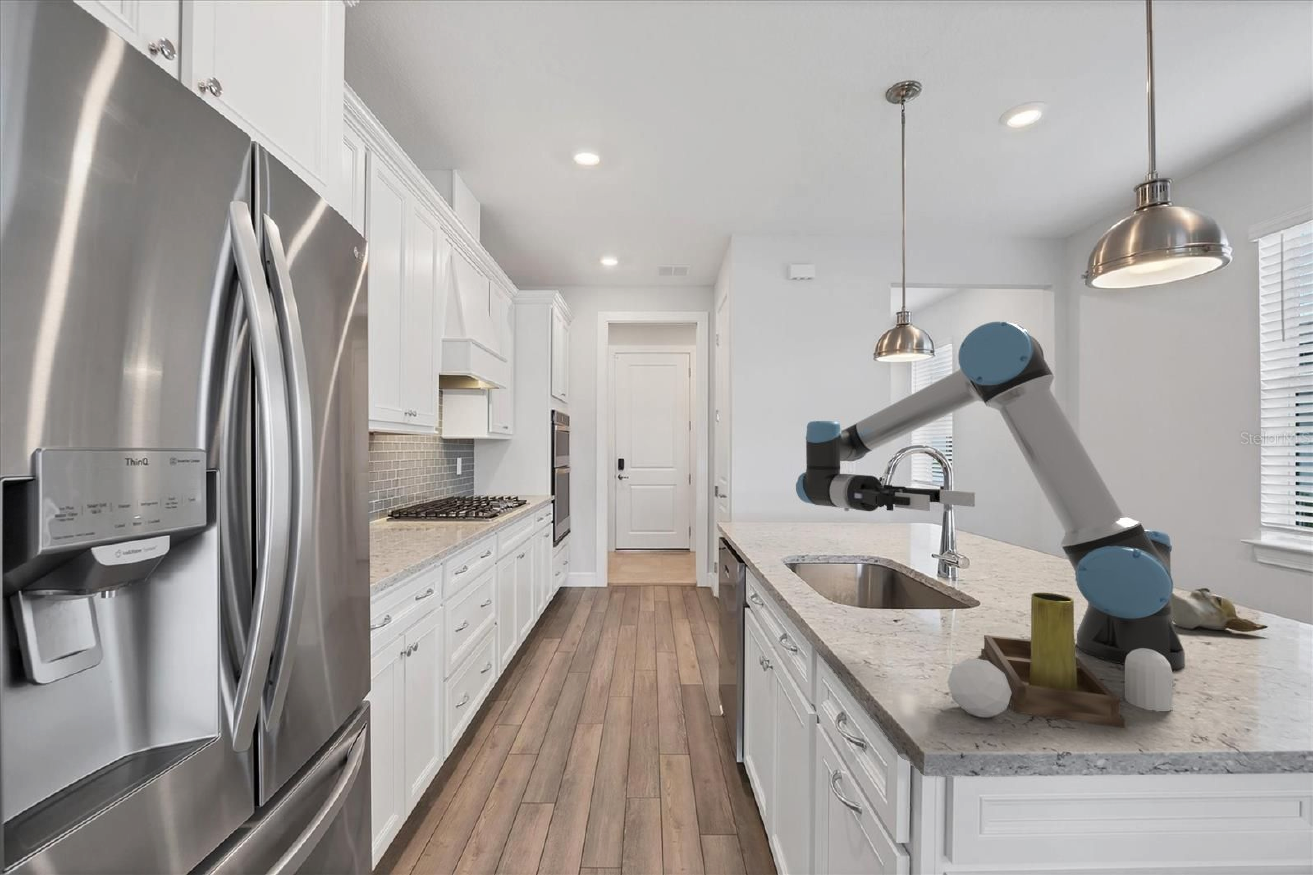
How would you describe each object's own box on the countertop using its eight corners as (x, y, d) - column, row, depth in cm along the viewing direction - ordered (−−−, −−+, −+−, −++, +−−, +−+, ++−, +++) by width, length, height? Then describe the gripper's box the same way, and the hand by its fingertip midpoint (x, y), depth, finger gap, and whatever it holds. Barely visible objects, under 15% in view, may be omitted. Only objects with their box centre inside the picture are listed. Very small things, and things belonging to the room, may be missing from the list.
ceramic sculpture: (1150, 579, 124) (1224, 585, 122) (1147, 618, 124) (1221, 624, 122) (1191, 592, 113) (1273, 599, 112) (1188, 635, 113) (1270, 642, 112)
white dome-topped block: (1181, 708, 82) (1180, 653, 82) (1158, 714, 80) (1158, 658, 80) (1139, 693, 87) (1138, 641, 87) (1116, 698, 85) (1116, 645, 85)
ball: (996, 736, 79) (1034, 704, 75) (945, 718, 78) (981, 684, 74) (976, 689, 86) (1010, 657, 82) (929, 672, 85) (961, 639, 81)
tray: (1066, 664, 98) (1065, 643, 98) (1124, 727, 76) (1124, 700, 76) (981, 655, 102) (981, 634, 102) (1013, 711, 80) (1013, 685, 81)
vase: (1061, 704, 80) (1060, 604, 80) (1018, 687, 86) (1018, 593, 86) (1087, 697, 82) (1087, 600, 82) (1045, 681, 88) (1044, 590, 88)
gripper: (895, 506, 127) (990, 517, 108) (815, 513, 114) (907, 526, 96) (895, 473, 127) (990, 478, 108) (815, 476, 114) (907, 482, 96)
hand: (951, 501), depth 102 cm, fingers open, 13 cm apart
